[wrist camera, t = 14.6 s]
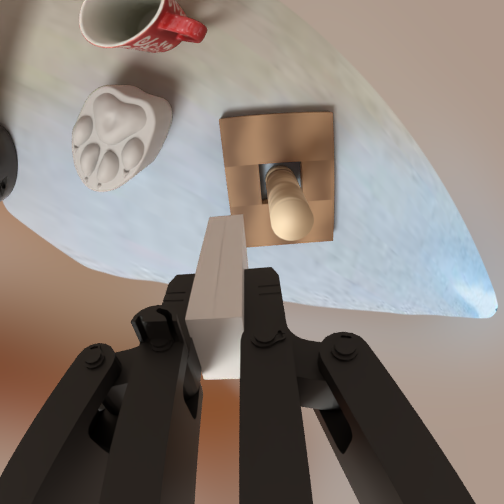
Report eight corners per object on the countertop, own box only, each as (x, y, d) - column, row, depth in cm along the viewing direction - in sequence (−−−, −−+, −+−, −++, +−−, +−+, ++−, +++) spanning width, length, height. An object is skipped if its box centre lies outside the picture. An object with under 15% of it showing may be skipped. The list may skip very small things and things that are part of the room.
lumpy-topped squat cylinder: (181, 106, 35) (162, 110, 27) (143, 189, 40) (120, 212, 33) (117, 79, 32) (86, 78, 25) (86, 160, 38) (54, 178, 30)
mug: (117, 47, 30) (63, 36, 18) (150, -7, 26) (108, -41, 14) (196, 80, 33) (167, 73, 21) (232, 23, 29) (222, -11, 17)
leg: (266, 194, 41) (272, 242, 29) (264, 166, 39) (269, 202, 27) (295, 192, 40) (313, 239, 28) (294, 164, 38) (313, 199, 26)
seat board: (236, 241, 44) (235, 248, 43) (220, 118, 35) (218, 119, 34) (329, 234, 44) (333, 240, 42) (328, 111, 35) (332, 112, 33)
